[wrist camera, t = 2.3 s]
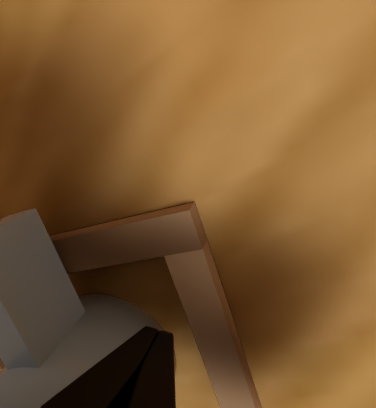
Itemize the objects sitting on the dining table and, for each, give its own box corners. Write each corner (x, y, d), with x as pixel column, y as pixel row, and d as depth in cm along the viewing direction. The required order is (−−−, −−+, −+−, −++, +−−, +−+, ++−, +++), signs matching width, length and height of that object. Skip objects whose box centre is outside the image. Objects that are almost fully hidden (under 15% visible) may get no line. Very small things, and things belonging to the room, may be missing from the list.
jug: (197, 406, 15) (155, 595, 9) (88, 406, 17) (1, 561, 11) (107, 182, 12) (-36, 265, 6) (-13, 216, 14) (-200, 301, 8)
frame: (275, 449, 14) (275, 468, 13) (62, 439, 18) (53, 454, 18) (194, 202, 11) (189, 209, 10) (-44, 257, 15) (-60, 266, 14)
